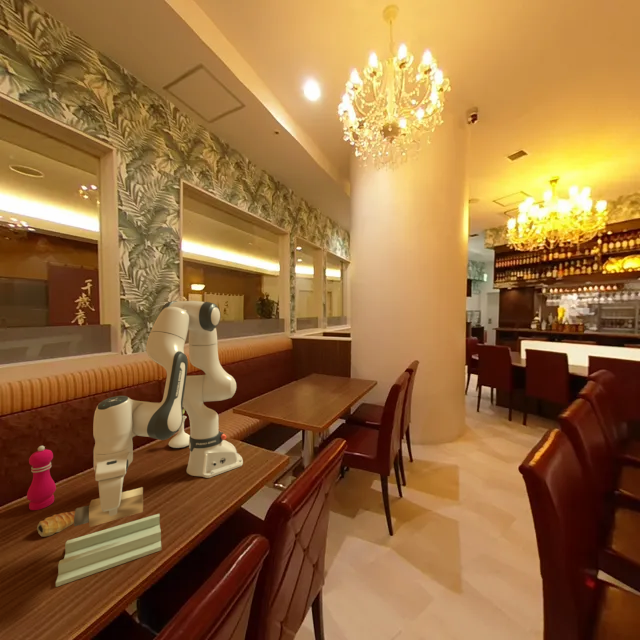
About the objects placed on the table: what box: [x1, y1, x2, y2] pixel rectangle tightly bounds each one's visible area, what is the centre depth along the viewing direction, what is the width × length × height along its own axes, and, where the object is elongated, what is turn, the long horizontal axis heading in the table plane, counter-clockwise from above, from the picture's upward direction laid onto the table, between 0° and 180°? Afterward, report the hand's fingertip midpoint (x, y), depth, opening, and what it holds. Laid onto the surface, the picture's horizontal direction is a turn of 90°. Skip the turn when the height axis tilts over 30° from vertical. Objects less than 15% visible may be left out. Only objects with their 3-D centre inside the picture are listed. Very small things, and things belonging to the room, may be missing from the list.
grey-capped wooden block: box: [73, 486, 144, 528], centre depth 82 cm, size 15×4×5 cm, turn 120°
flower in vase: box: [168, 408, 191, 449], centre depth 148 cm, size 13×11×25 cm
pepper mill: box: [26, 445, 57, 511], centre depth 102 cm, size 7×7×20 cm
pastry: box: [36, 510, 75, 537], centre depth 91 cm, size 9×7×4 cm
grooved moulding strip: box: [55, 513, 162, 588], centre depth 82 cm, size 22×14×4 cm, turn 120°
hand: (114, 508), depth 82 cm, fingers closed on grey-capped wooden block, 4 cm apart
